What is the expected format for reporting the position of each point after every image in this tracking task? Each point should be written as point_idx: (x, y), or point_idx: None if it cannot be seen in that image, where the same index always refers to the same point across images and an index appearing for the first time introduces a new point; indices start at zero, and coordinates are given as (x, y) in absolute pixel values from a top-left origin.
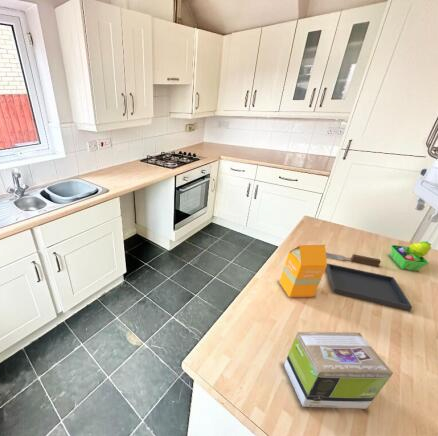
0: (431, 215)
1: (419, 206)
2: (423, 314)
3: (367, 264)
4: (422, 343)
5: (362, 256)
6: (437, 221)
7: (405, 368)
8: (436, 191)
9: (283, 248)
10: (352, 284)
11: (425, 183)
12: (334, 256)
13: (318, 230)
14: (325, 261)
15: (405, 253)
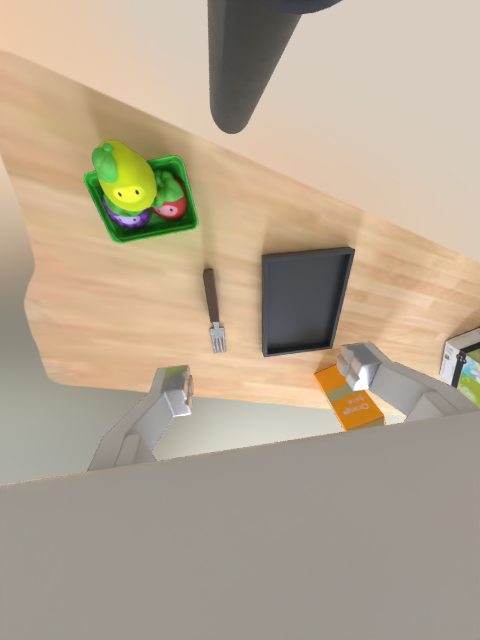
0: (355, 387)
1: (191, 404)
2: (352, 224)
3: (215, 288)
4: (415, 250)
5: (210, 307)
6: (373, 345)
7: (450, 283)
8: None
9: (232, 399)
10: (302, 321)
11: None
12: (219, 340)
13: (110, 363)
14: (383, 422)
15: (146, 211)
